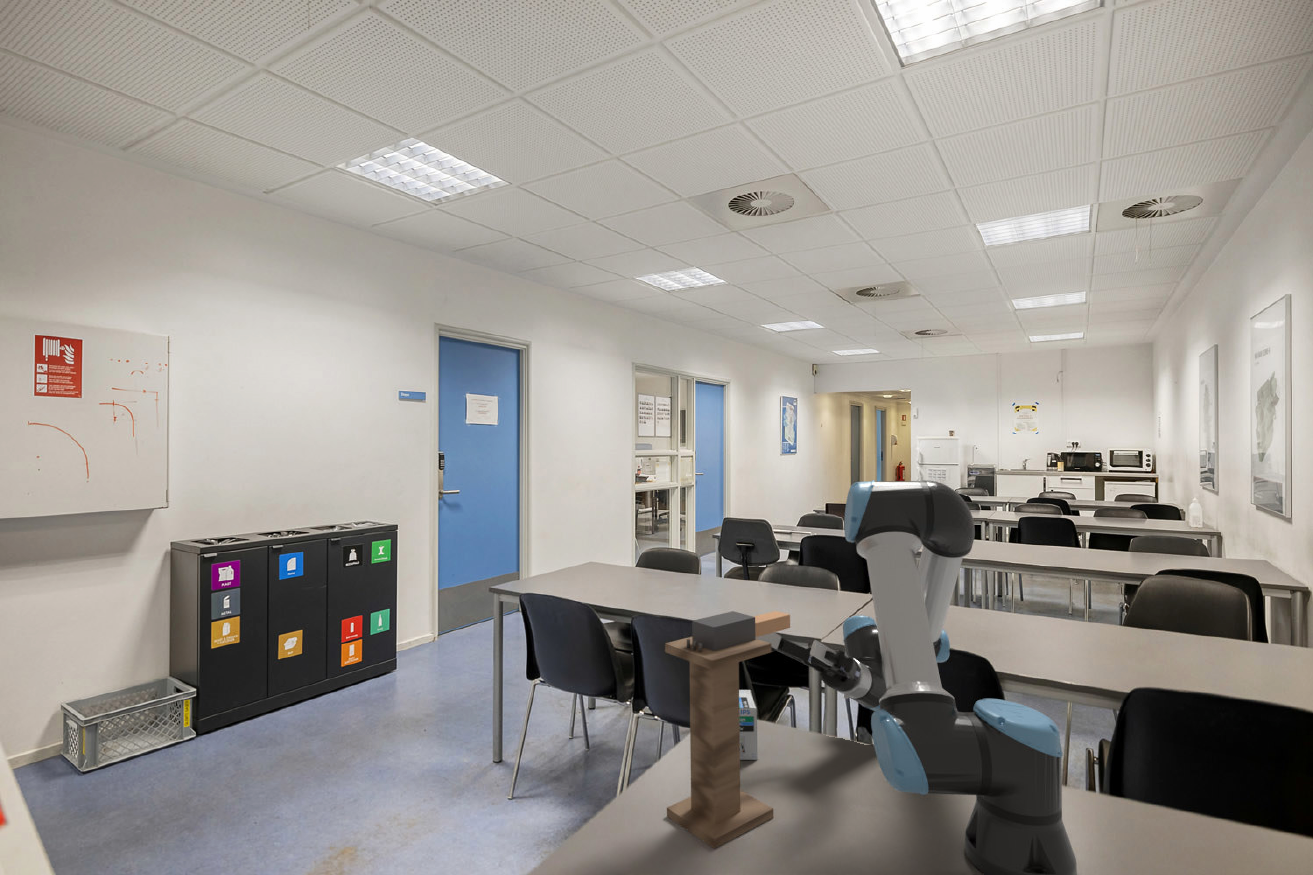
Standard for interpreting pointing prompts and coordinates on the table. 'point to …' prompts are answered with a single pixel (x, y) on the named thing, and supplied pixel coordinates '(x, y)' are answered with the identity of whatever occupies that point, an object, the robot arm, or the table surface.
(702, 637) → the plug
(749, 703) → the light bulb box
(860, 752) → the table surface
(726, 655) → the stand
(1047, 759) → the robot arm
